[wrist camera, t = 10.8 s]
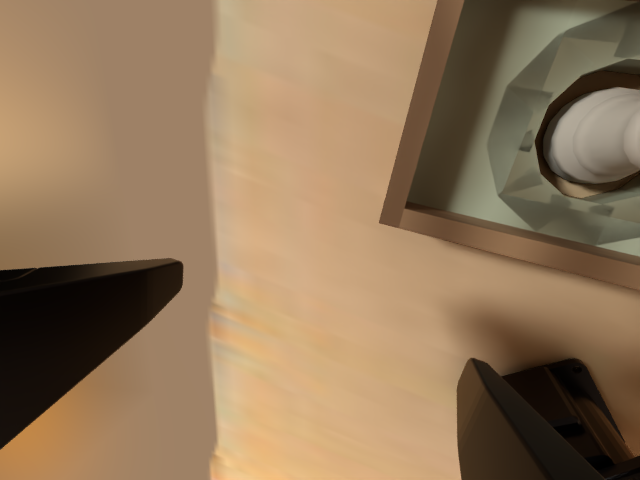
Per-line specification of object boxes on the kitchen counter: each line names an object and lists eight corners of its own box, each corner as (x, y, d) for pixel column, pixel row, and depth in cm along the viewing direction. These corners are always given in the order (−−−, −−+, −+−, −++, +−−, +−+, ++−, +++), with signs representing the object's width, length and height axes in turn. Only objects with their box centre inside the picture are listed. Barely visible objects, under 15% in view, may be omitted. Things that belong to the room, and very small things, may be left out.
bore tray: (929, 21, 12) (1208, -50, 8) (733, 292, 16) (847, 343, 12) (447, -20, 16) (459, -81, 11) (386, 207, 20) (378, 223, 15)
